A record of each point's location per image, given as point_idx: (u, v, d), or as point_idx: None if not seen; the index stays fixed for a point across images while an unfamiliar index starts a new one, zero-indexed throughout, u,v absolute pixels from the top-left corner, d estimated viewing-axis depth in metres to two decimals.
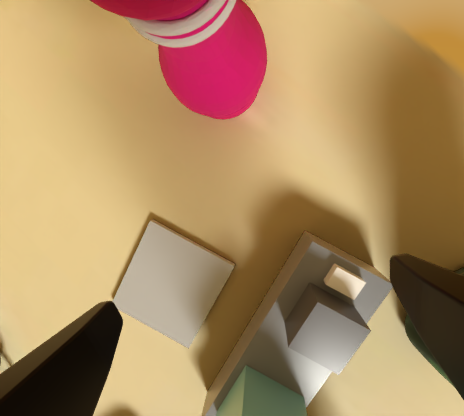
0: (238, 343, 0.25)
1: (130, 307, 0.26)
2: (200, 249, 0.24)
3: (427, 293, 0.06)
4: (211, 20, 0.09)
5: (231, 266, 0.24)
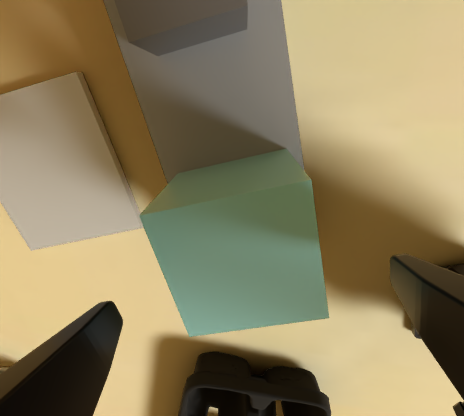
0: None
1: (46, 236, 0.19)
2: (22, 91, 0.15)
3: (427, 293, 0.06)
4: None
5: (72, 75, 0.14)
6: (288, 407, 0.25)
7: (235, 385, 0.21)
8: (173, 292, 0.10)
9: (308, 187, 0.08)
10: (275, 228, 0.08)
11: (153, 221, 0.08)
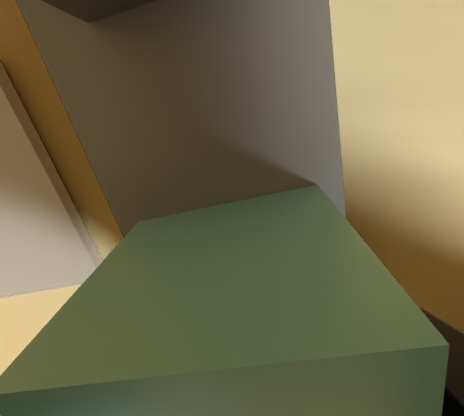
0: None
1: None
2: None
3: None
4: None
5: None
6: None
7: None
8: None
9: (435, 361, 0.03)
10: None
11: (21, 406, 0.03)
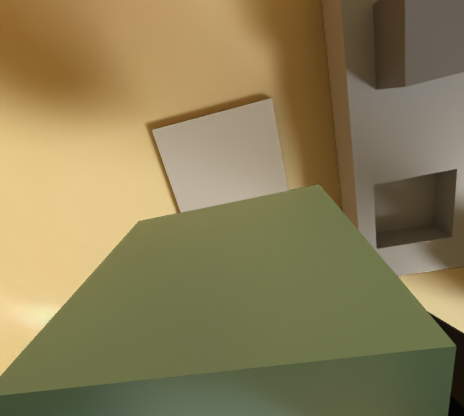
0: (341, 179, 0.19)
1: None
2: (222, 113, 0.18)
3: None
4: None
5: (268, 101, 0.18)
6: None
7: None
8: None
9: (442, 362, 0.03)
10: None
11: (21, 408, 0.03)
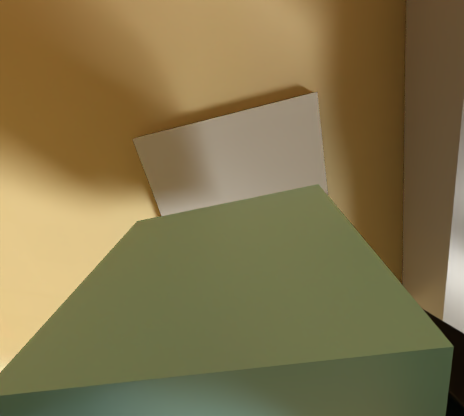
0: (409, 211, 0.13)
1: None
2: (240, 114, 0.12)
3: None
4: None
5: (312, 96, 0.11)
6: None
7: None
8: None
9: (439, 363, 0.03)
10: None
11: (17, 409, 0.03)
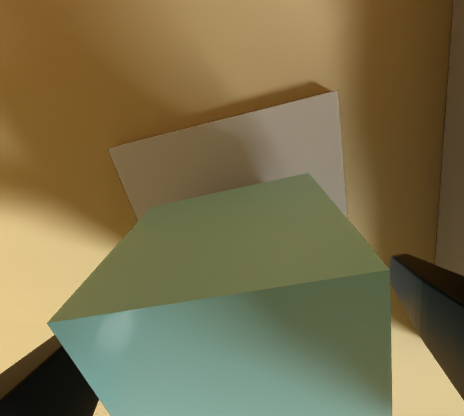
0: (446, 236, 0.11)
1: None
2: (240, 119, 0.10)
3: (427, 293, 0.06)
4: None
5: (331, 96, 0.09)
6: None
7: None
8: None
9: (381, 283, 0.04)
10: (307, 349, 0.04)
11: (75, 332, 0.04)
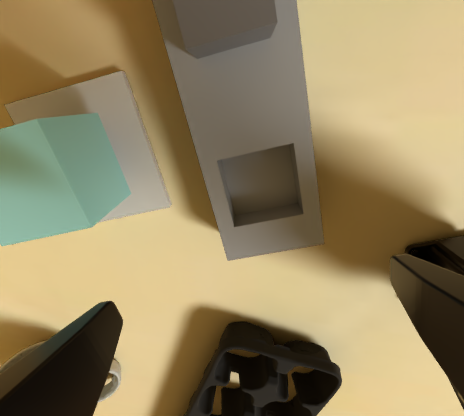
0: None
1: None
2: (74, 87, 0.17)
3: (427, 293, 0.06)
4: None
5: (118, 74, 0.17)
6: (298, 378, 0.28)
7: (265, 350, 0.23)
8: None
9: (37, 124, 0.12)
10: (27, 156, 0.12)
11: None
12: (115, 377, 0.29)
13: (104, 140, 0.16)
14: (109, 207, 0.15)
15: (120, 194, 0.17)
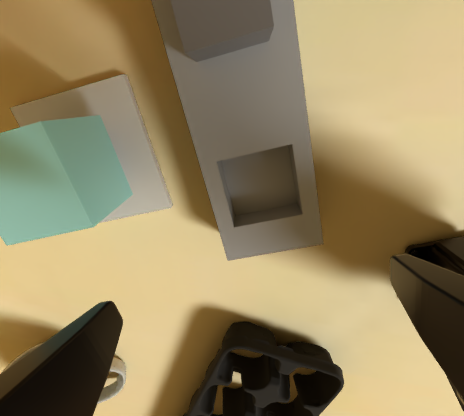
0: None
1: None
2: (77, 90, 0.18)
3: (427, 293, 0.06)
4: None
5: (120, 77, 0.17)
6: (300, 379, 0.28)
7: (268, 350, 0.23)
8: None
9: (41, 127, 0.12)
10: (31, 157, 0.13)
11: None
12: (120, 376, 0.29)
13: (106, 142, 0.17)
14: (111, 207, 0.16)
15: (122, 195, 0.17)
